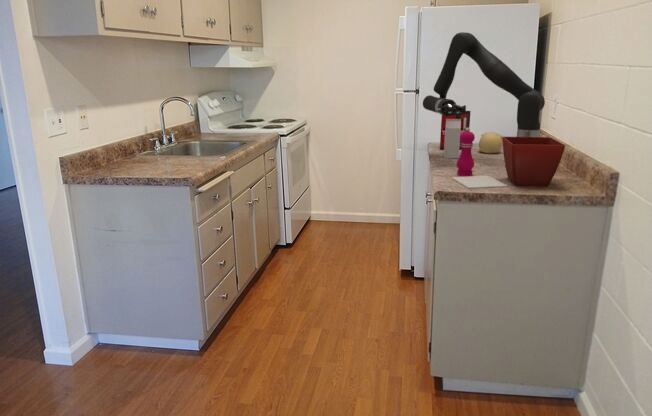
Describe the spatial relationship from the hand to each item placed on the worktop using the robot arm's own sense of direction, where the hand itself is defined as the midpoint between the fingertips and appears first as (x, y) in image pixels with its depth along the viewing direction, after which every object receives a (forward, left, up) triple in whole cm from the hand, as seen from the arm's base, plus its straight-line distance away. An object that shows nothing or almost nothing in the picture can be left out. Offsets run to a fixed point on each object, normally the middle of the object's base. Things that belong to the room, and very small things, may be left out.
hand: (459, 110), depth 217 cm
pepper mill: (-3, +10, -26) cm, 28 cm away
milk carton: (+2, -30, -26) cm, 40 cm away
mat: (-8, +23, -26) cm, 35 cm away
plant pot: (-27, +20, -26) cm, 43 cm away
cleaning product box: (0, -56, -26) cm, 62 cm away
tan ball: (-18, -46, -26) cm, 56 cm away
